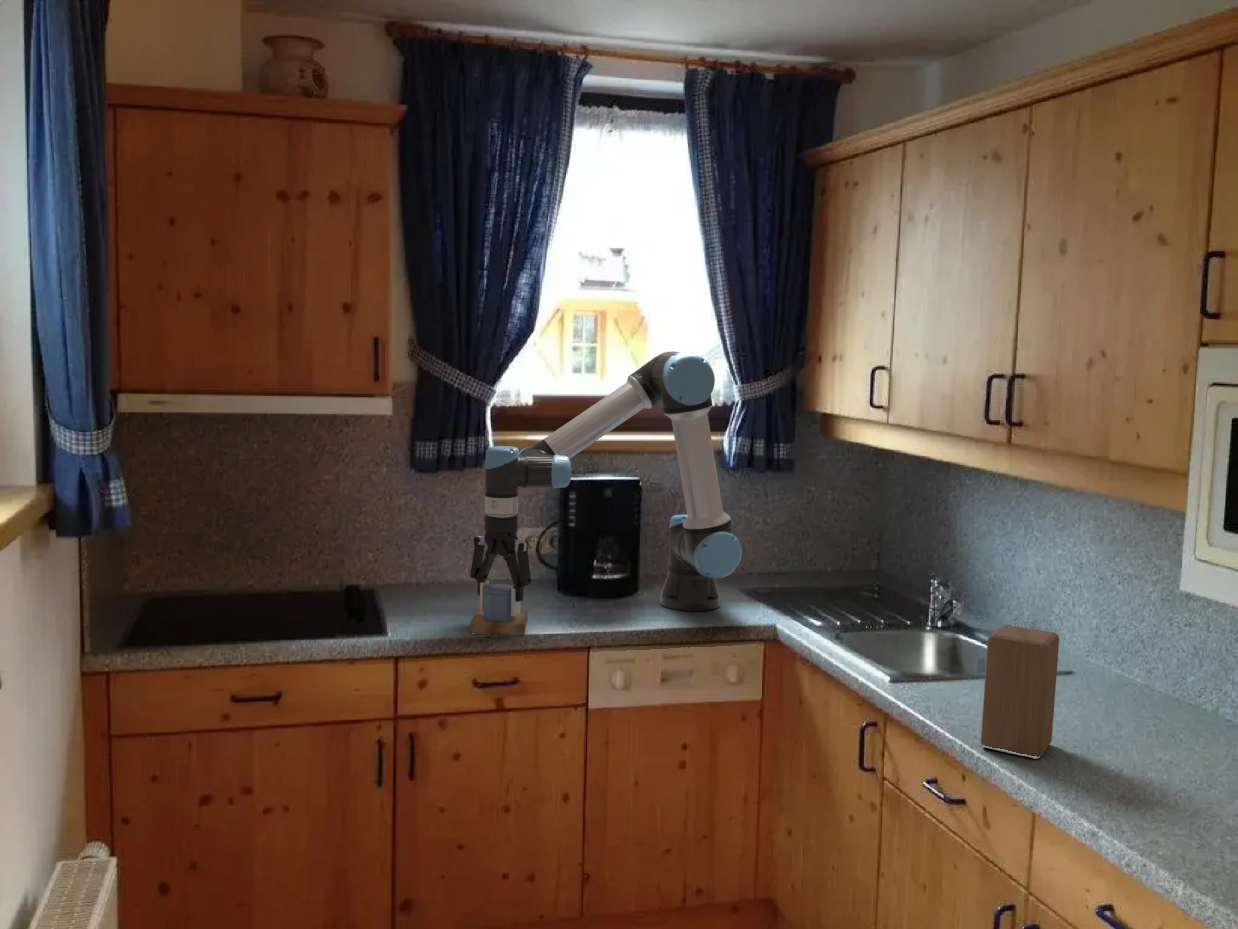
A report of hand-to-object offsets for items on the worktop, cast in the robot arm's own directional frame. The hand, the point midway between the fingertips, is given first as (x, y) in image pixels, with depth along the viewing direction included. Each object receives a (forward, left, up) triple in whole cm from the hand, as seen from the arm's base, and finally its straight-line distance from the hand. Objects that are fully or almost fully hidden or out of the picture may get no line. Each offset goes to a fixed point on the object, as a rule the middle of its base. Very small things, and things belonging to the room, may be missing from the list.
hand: (499, 612), depth 263 cm
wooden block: (-94, +70, -4) cm, 117 cm away
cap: (0, 0, -1) cm, 1 cm away
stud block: (0, 0, -4) cm, 4 cm away
